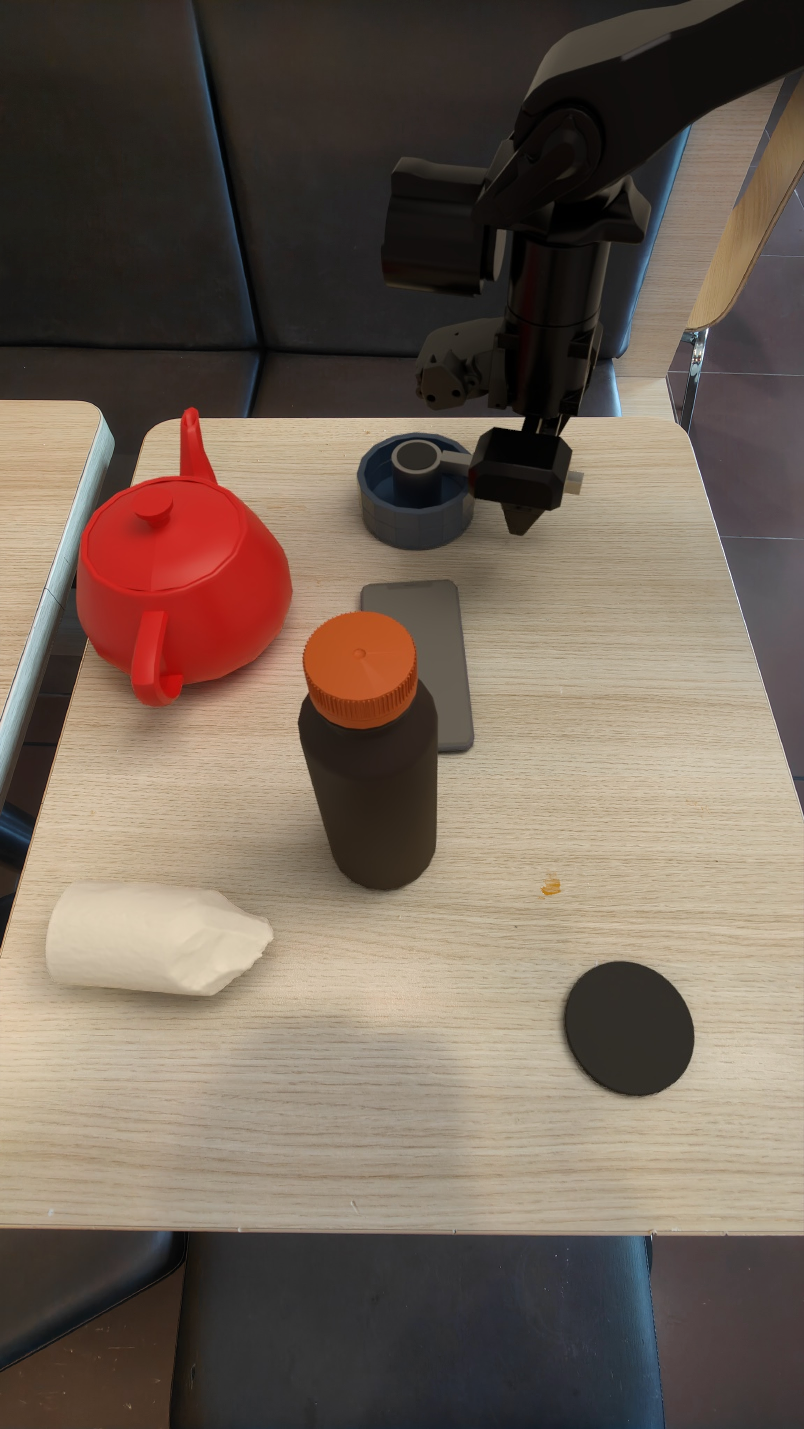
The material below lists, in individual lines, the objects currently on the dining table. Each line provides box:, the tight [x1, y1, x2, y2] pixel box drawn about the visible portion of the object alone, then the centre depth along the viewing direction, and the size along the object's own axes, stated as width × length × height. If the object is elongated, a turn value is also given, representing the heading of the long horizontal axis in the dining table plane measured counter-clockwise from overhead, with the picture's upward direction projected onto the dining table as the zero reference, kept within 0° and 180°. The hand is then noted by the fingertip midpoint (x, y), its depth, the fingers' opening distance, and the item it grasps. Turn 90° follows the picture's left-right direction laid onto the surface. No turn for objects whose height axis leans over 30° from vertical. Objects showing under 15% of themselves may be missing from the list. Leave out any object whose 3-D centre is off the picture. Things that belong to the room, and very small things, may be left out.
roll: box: [44, 878, 275, 997], centre depth 44 cm, size 6×12×6 cm, turn 85°
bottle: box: [297, 610, 439, 892], centre depth 42 cm, size 7×7×20 cm
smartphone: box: [359, 578, 476, 753], centre depth 57 cm, size 8×1×15 cm
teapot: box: [75, 406, 294, 708], centre depth 56 cm, size 25×16×12 cm, turn 0°
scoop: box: [392, 440, 585, 509], centre depth 63 cm, size 15×4×6 cm, turn 74°
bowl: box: [356, 431, 477, 551], centre depth 65 cm, size 10×10×4 cm
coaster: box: [563, 960, 695, 1097], centre depth 43 cm, size 7×7×1 cm
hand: (527, 495), depth 62 cm, fingers open, 8 cm apart
